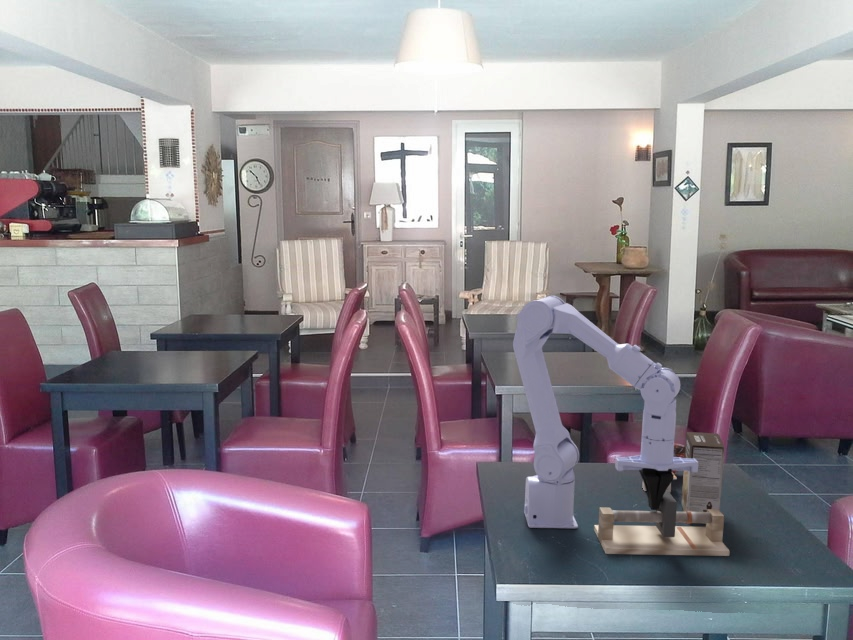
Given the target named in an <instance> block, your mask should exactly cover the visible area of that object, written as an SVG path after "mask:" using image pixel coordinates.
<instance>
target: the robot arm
mask: <svg viewBox="0 0 853 640" xmlns="http://www.w3.org/2000/svg"><path fill="white" fill-rule="evenodd" d="M516 321H517V324H516V328H515V333H514V337H513V342H512V347H513V348H512V349H513V352H514V355H515V356H514V357H515V360H516V363H517V367H518V371H519V375H520V378H521V382H522V387H523V389H524V393H525V396H526V401H527V405H528V409H529V412H530V415H531V419H532V423H533V427H534V431H535V437H534V440H533V445H532V447H533V451H534V458H533V468H534V469H533V470H534V472H535V474H536V475H533V476H526V478H525V489H524V491H525V492H524V506H523V507H524V508H523V513H524V516H525V520H526V523H527V526H528V528H529V529H530V528H531V529H532V528H533V529H534V528H535V529H536V528H537V529H578V528H579V526H578V523H577V521H576V518H575V516H574V502H575V499H574V498H575V483H576V482H575V478H576V476H575V472H574V467H575V466H577V464H578V462H579V459H580V452H579V448H578V447H577V445H576V444H575V442H574V441H573V440H572V438H571V434H570V432H569V431H568V429H567V428H566V427H565V426H564V425H563V423H562V419H561V415H560V412H559V408H558V405H557V400H556V397H555V394H554V393H555V392H554V390H553V386H552V382H551V378H550V374H549V371H548V367H547V364H546V359H545V355H544V353H543V352H544V351H543V346H544V345H545V343H546V342H547V340H548V339H549V337H550V336H551V334H561V335H562V334H564V335H565V334H567V335H568V334H569V335H572V336H573V337H575V338H577V339H578V340H579V341H581V342H583V344H585V345H587V346H588V347H590V348H591V349H593V350H594V351H595V352H597V353H598V354H600V355H602V356H603V357H604V358H606V361H607V365H608V369H610V370H611V371H613V373H614V374H616V375H618V376H619V377H620V378H622V380H624V381H625V382H627V383H628V384H629V385H630V386H632V387H633V388H635V389H636V390H638V391H639V390H640V391H639V392H640V395H641V398H642V399H643V401H644V402H643V404H644V405H643V410H642V423H641V425H642V426H641V442H640V444H641V445H640V455H633V456H623V457H619V456H617V457H615V459H614V460H615V463H614V468H615V470H617V472H623V471H624V470H625V471H626V470H627V471H629V470H630V471H639V473H640V476H641V478H642V482H643V481H644V484H645V488H646V491H647V492H646V495H647V503H648V507H649V508H650V511H656V510H659V506H660V503H661V500H662V498H663V495H664V493H665V491H666V489H667V488H668V486H669V485H670V483H671V484H672V482H673V481H674V479H673V477H674V475H675V474H674V473H673V474H674V475H673V474H672V471H678V472H682V471H683V472H684V471H691V472H698V462H697V461H696V460H695V459H691V458H680V457H673V455H674V443H675V440H676V439H675V436H676V426H677V425H676V424H677V412H676V411H677V398H676V397H677V395H678V394H679V393H680V390H681V381H680V378H679V376H678V375H677V374H676V373H675V372H674V370H673V369H672V368H668V367H663V364H661V363H660V362H654V361H653V360H652V359H651V358H649V357H647V356H646V355H645V354H644V353H642V352H641V350H642V349H641V347H640V346H638V345H637V344H634V345H633V346H632V344H630V343H621V344H620V343H618V342H617V341H615V340H614V339H613V338H611V337H610V336H609V335H608V334H606V333H605V332H604V331H603V330H601V329H600V328H599V327H598V326H596V325H595V324H594V323H593V322H592V321H590V320H589V319H588V318H587V317H586V316H584V315H583V314H582V313H581V312H580V311H579V310H577V309H576V308H575V307H574V306H573V305H571V304H570V303H568V302H565V301H564V300H563V299H562V298H560V297H559V296H556V295H549V296H548V295H547V296H545V297H543V298H540V299H535V300H534V299H533V300H531V301H528V302H527V303H525V305H524V306H523V307H522V309H521V310H520V311H519V313H518V314H517V315H516Z"/></svg>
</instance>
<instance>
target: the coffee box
mask: <svg viewBox="0 0 853 640" xmlns="http://www.w3.org/2000/svg"><path fill="white" fill-rule="evenodd" d="M684 446H685V458H691V459H695V460H696V461H697V462H698V472H691V471H683V475H682V476H683V478H682V489H681V490H682V492H681V507H682V512H685V511H691V512H707V509H718V510H719V511H720V512H721V498H722V497H721V496H722V486H723V485H722V484H723V475H724V463H725V462H724V461H725V451H726V446H725V445H724V443H723V441H722V439H721V437H720V435H719V433H715V432H714V433H713V432H712V433H711V432H709V433H708V432H695V431H694V432H693V431H686V433H685V445H684ZM702 524H703V525H704V524H705V525H706V523H701V525H702Z"/></svg>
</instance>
